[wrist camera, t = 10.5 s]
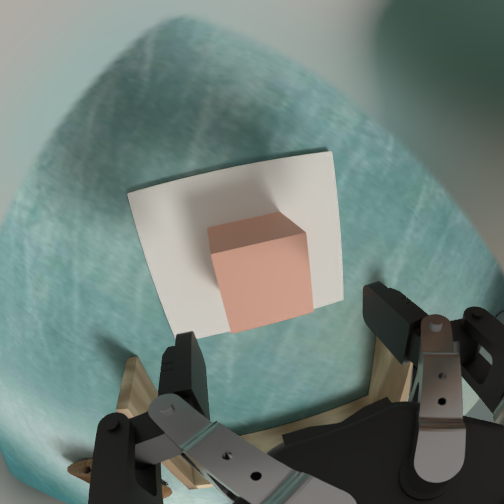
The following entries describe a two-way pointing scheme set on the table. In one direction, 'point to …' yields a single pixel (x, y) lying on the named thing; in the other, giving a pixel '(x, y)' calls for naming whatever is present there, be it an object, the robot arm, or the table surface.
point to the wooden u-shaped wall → (381, 385)
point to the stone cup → (84, 472)
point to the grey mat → (230, 210)
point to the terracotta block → (261, 270)
